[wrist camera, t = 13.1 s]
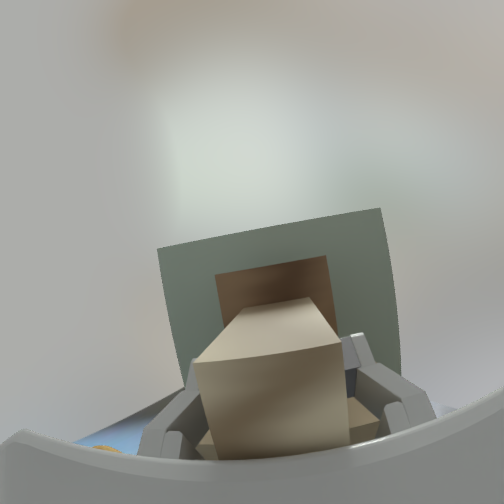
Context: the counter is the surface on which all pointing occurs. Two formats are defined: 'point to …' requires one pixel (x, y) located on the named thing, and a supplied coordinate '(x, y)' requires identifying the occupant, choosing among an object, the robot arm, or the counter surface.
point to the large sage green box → (280, 251)
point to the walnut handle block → (275, 364)
